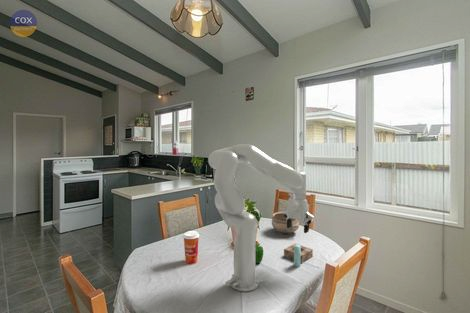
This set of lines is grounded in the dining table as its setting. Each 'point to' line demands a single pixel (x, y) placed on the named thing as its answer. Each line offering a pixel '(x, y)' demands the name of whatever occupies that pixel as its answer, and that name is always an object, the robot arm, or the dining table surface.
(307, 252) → the socket
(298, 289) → the dining table surface
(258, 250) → the bell pepper
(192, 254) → the coffee cup
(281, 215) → the cooking pot
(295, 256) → the peg
